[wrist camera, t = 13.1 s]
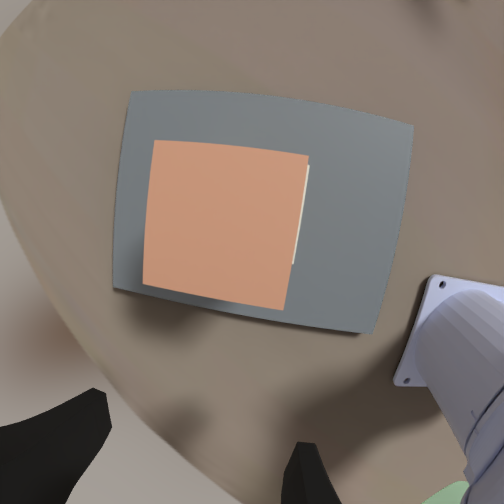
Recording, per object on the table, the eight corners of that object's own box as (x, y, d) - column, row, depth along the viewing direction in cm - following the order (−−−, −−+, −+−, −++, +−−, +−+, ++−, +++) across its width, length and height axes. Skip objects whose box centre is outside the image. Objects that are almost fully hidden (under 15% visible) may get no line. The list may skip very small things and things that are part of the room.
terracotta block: (301, 166, 11) (308, 155, 7) (285, 269, 12) (283, 310, 8) (197, 153, 11) (154, 140, 7) (186, 252, 12) (142, 283, 8)
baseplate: (407, 128, 14) (414, 125, 13) (368, 326, 17) (372, 334, 16) (138, 95, 16) (131, 91, 15) (120, 282, 18) (112, 286, 17)
